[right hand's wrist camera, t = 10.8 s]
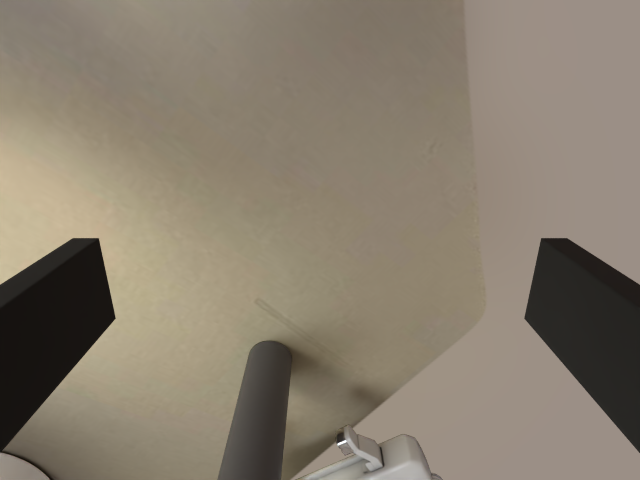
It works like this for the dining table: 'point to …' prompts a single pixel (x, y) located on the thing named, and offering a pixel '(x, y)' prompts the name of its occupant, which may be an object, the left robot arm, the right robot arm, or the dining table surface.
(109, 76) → the dining table surface
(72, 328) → the right robot arm
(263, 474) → the dark grey cylinder
